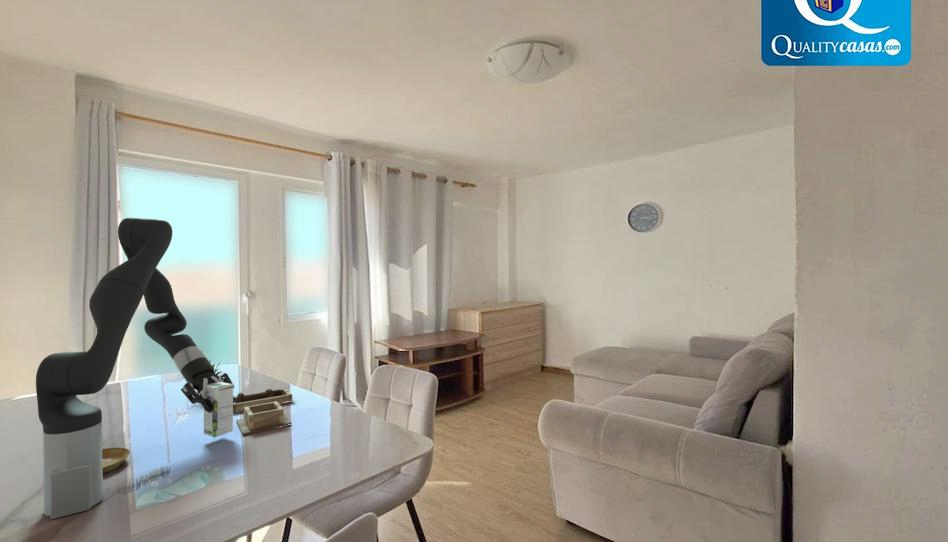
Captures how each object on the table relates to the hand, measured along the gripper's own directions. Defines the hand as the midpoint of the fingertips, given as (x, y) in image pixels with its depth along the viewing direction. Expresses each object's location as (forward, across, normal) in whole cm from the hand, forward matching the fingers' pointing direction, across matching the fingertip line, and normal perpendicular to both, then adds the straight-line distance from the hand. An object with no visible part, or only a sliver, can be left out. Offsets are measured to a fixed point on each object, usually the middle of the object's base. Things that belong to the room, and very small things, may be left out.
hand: (222, 406), depth 124 cm
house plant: (-24, +30, +38) cm, 53 cm away
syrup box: (+5, 0, +7) cm, 8 cm away
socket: (+8, +14, +6) cm, 18 cm away
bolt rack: (-4, +30, +18) cm, 35 cm away
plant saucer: (-4, -23, +20) cm, 31 cm away
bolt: (-8, +31, +15) cm, 35 cm away
